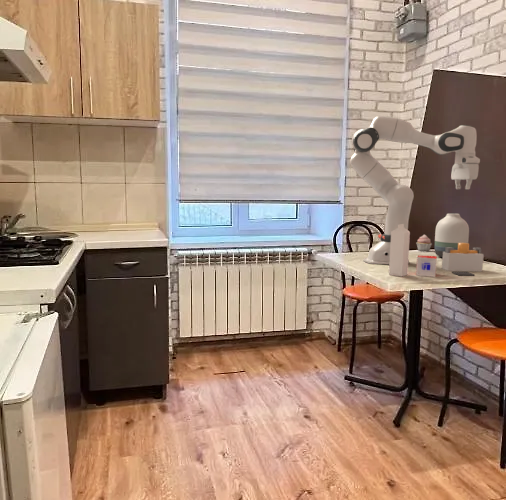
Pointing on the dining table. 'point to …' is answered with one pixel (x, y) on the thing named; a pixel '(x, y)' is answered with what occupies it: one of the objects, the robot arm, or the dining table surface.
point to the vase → (450, 233)
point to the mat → (463, 273)
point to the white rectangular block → (462, 260)
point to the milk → (399, 251)
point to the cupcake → (424, 243)
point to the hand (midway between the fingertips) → (462, 189)
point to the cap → (463, 249)
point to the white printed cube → (426, 265)
